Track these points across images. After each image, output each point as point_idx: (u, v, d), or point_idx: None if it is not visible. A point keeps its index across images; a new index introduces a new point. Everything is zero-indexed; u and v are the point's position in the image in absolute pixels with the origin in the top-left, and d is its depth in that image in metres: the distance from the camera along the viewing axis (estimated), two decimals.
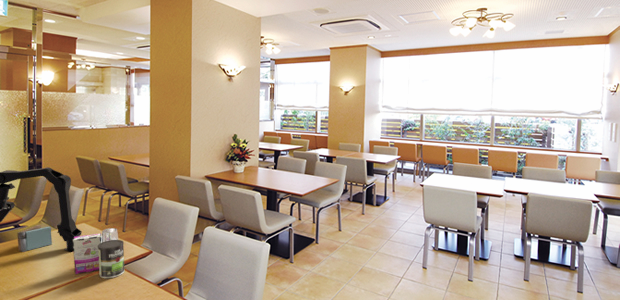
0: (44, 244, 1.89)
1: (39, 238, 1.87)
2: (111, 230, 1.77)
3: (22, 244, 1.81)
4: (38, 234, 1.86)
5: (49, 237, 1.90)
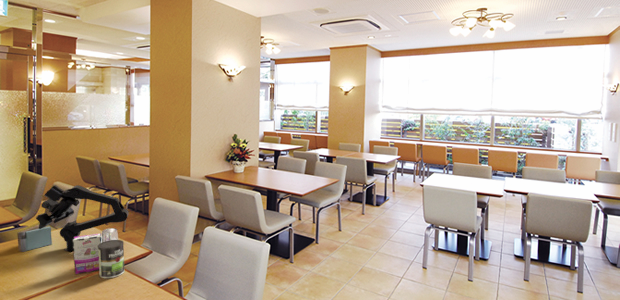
0: (44, 244, 1.89)
1: (39, 238, 1.87)
2: (111, 230, 1.77)
3: (22, 244, 1.81)
4: (38, 234, 1.86)
5: (49, 237, 1.90)
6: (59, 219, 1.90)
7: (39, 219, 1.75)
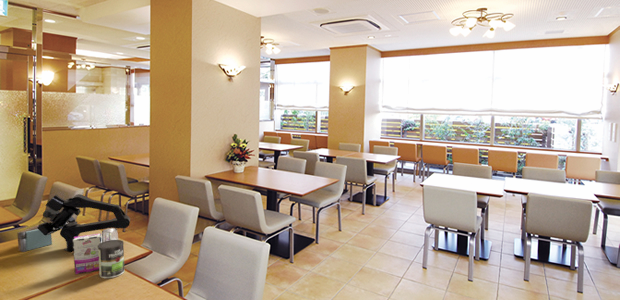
0: (44, 244, 1.89)
1: (39, 238, 1.87)
2: (111, 230, 1.77)
3: (22, 244, 1.81)
4: (38, 234, 1.86)
5: (49, 237, 1.90)
6: None
7: (40, 228, 1.76)
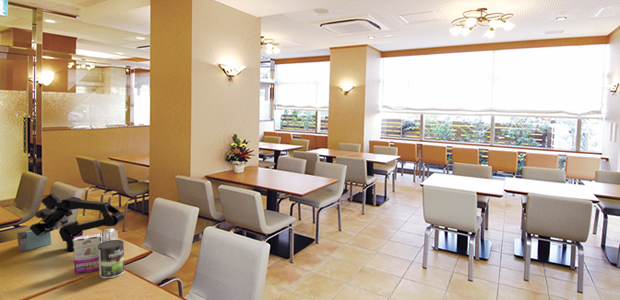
0: (44, 244, 1.89)
1: (39, 238, 1.87)
2: (111, 230, 1.77)
3: (22, 244, 1.81)
4: None
5: (48, 236, 1.91)
6: None
7: (32, 229, 1.77)
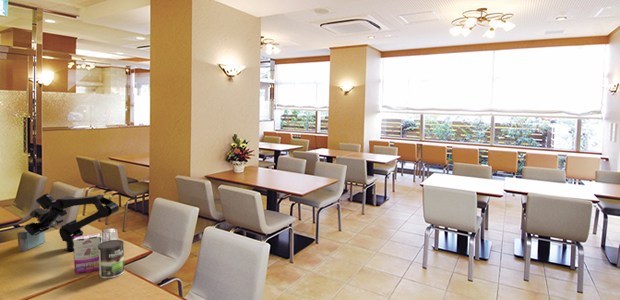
0: (39, 242, 1.91)
1: (36, 237, 1.88)
2: (111, 230, 1.77)
3: (23, 244, 1.81)
4: None
5: (43, 235, 1.93)
6: (42, 230, 1.88)
7: (27, 228, 1.77)
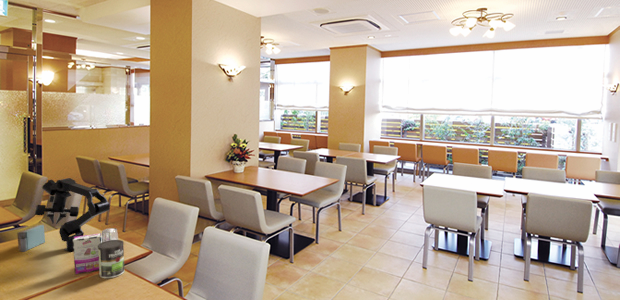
0: (39, 242, 1.91)
1: (36, 237, 1.88)
2: (111, 230, 1.77)
3: (23, 244, 1.81)
4: (35, 232, 1.88)
5: (43, 235, 1.93)
6: (57, 219, 1.89)
7: None
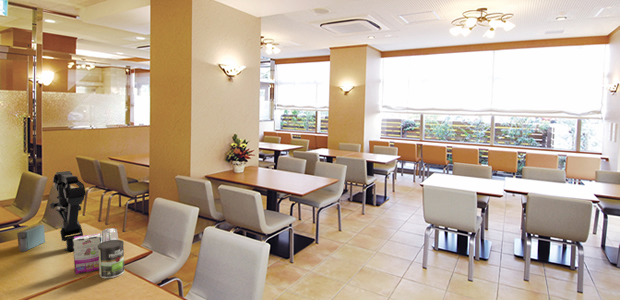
0: (39, 242, 1.91)
1: (36, 237, 1.88)
2: (111, 230, 1.77)
3: (23, 244, 1.81)
4: (35, 232, 1.88)
5: (43, 235, 1.93)
6: None
7: None
